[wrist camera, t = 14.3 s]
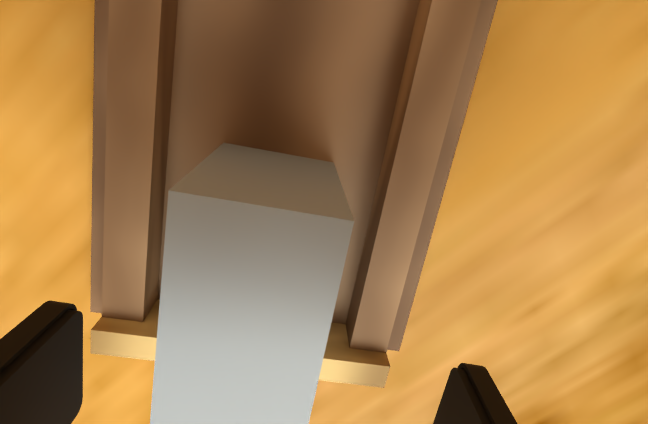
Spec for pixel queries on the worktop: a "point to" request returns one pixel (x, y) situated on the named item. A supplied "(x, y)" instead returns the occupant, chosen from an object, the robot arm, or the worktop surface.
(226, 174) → the panel block
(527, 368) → the worktop surface
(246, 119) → the board
